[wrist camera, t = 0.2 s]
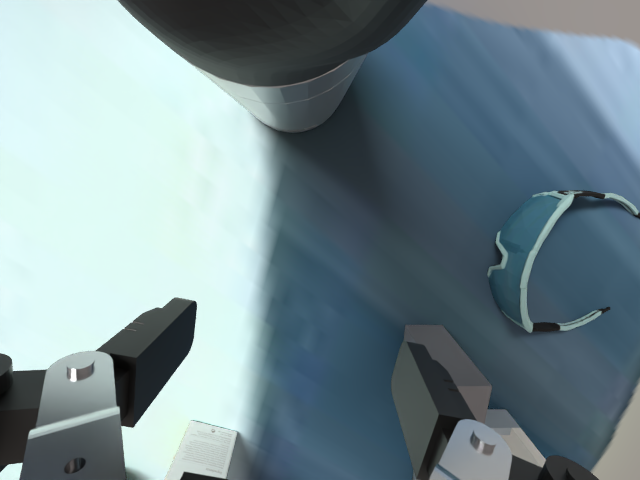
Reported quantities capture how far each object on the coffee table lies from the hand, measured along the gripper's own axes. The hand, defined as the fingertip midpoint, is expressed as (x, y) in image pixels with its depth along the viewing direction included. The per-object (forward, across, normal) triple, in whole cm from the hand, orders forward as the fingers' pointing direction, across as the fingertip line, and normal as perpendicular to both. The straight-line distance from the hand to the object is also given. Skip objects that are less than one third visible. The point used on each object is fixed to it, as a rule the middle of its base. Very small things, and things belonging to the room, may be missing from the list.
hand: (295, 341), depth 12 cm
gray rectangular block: (+19, -14, +10) cm, 25 cm away
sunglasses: (+20, -25, -2) cm, 32 cm away
